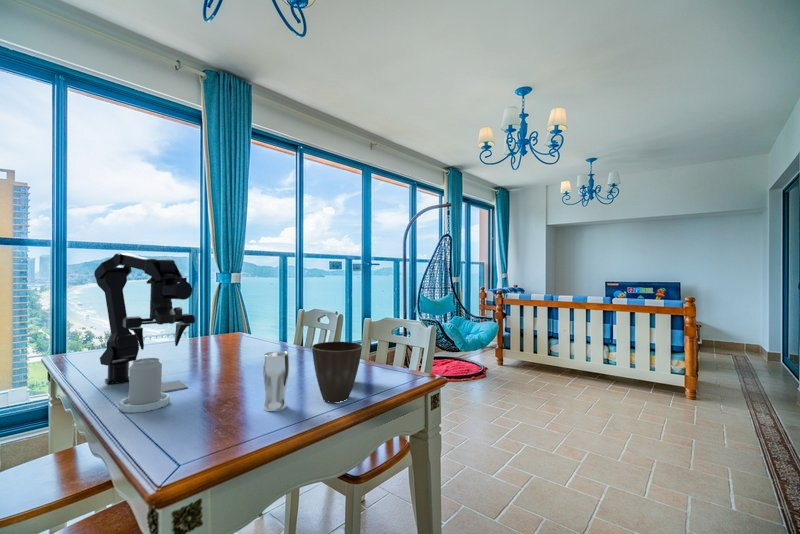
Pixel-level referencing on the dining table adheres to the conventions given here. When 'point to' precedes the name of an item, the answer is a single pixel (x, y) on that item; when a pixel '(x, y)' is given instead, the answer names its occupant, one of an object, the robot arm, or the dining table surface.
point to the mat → (172, 386)
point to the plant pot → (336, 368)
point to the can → (145, 381)
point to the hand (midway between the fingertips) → (159, 347)
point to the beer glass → (275, 380)
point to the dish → (130, 408)
